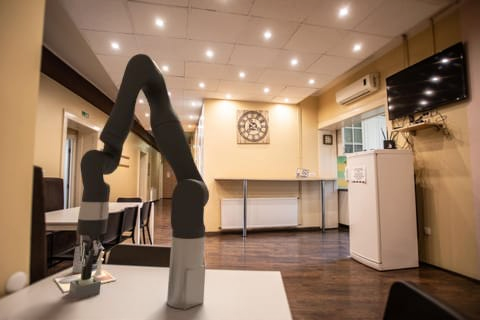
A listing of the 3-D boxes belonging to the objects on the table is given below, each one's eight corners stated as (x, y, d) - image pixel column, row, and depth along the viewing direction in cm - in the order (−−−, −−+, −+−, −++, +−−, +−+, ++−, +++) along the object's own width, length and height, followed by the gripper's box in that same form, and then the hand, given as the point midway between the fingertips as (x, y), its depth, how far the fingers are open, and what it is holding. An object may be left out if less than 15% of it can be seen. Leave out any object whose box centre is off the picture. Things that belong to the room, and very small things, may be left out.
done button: (94, 288, 66) (95, 279, 66) (79, 291, 64) (80, 282, 64) (90, 284, 69) (91, 275, 69) (75, 287, 66) (77, 278, 66)
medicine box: (82, 273, 81) (85, 248, 82) (71, 272, 81) (74, 247, 83) (99, 266, 88) (102, 243, 90) (89, 265, 89) (92, 242, 90)
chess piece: (85, 278, 75) (89, 246, 77) (101, 274, 79) (104, 243, 81) (94, 281, 73) (98, 248, 74) (109, 277, 77) (113, 245, 79)
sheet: (116, 280, 76) (116, 278, 76) (63, 292, 66) (64, 290, 66) (102, 270, 84) (103, 269, 85) (54, 280, 74) (54, 278, 74)
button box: (99, 293, 66) (100, 281, 66) (74, 300, 62) (76, 287, 62) (93, 287, 70) (94, 276, 70) (69, 292, 66) (70, 281, 66)
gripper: (115, 218, 67) (108, 282, 65) (100, 214, 76) (93, 270, 74) (85, 220, 62) (76, 289, 59) (72, 215, 71) (64, 275, 68)
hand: (85, 278), depth 66 cm, fingers closed
